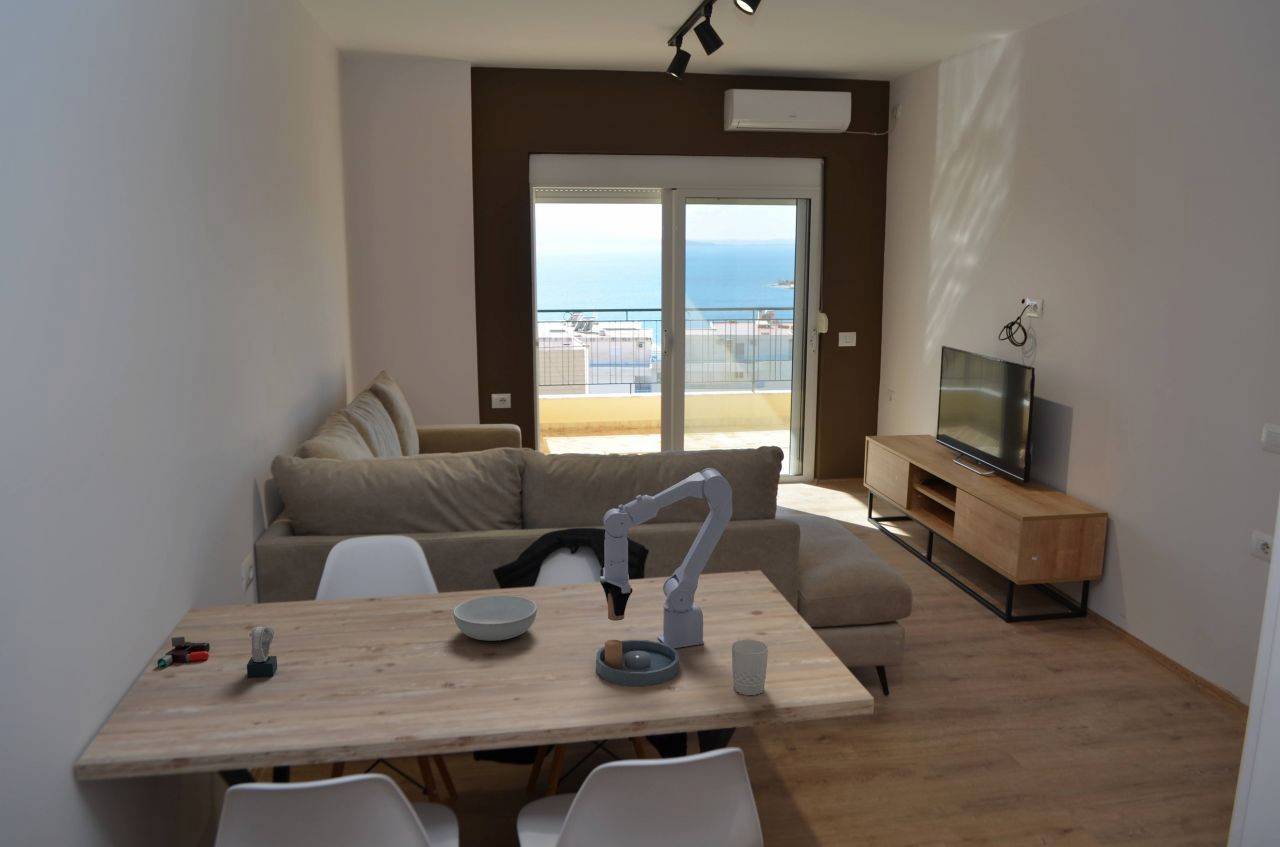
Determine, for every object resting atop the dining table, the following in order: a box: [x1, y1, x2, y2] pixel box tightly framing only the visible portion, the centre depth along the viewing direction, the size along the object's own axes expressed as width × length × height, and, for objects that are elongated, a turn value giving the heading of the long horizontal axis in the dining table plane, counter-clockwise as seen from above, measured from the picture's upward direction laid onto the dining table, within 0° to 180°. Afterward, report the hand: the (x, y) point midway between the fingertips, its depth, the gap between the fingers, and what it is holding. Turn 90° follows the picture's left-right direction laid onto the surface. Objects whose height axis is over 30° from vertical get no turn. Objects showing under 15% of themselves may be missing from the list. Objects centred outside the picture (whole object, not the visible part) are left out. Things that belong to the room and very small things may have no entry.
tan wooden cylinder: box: [604, 639, 622, 670], centre depth 218 cm, size 4×4×6 cm
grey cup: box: [731, 639, 769, 696], centre depth 210 cm, size 8×8×10 cm
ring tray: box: [595, 639, 680, 687], centre depth 221 cm, size 19×19×3 cm
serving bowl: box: [452, 594, 538, 642], centre depth 241 cm, size 21×21×7 cm
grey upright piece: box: [246, 624, 278, 679], centre depth 217 cm, size 6×8×11 cm
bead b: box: [607, 593, 625, 622], centre depth 233 cm, size 4×4×6 cm
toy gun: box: [156, 635, 211, 668], centre depth 224 cm, size 10×12×5 cm
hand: (616, 612), depth 233 cm, fingers closed on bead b, 4 cm apart
